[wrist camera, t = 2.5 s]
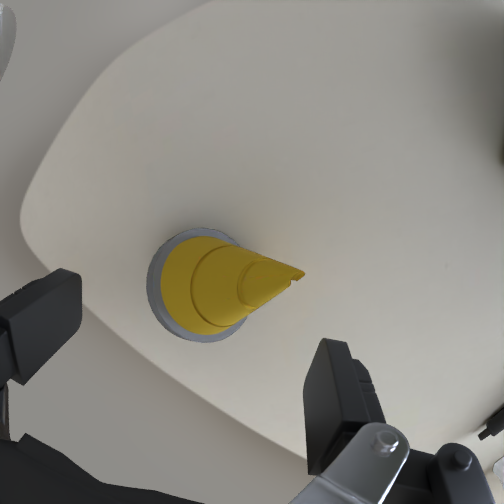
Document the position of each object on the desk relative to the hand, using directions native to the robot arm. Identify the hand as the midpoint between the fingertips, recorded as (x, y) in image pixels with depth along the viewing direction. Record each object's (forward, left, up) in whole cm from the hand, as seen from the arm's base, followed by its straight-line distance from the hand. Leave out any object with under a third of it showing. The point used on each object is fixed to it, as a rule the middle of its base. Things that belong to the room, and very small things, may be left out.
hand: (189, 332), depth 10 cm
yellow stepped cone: (0, 0, -8) cm, 8 cm away
